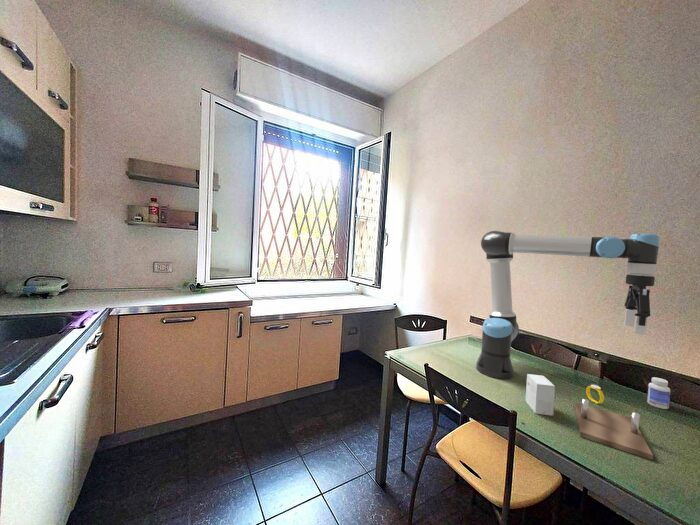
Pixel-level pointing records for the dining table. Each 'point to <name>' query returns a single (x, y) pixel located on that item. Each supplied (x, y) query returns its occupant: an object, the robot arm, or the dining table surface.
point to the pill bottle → (658, 393)
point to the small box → (540, 394)
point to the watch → (598, 392)
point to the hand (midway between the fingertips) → (634, 329)
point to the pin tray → (611, 429)
